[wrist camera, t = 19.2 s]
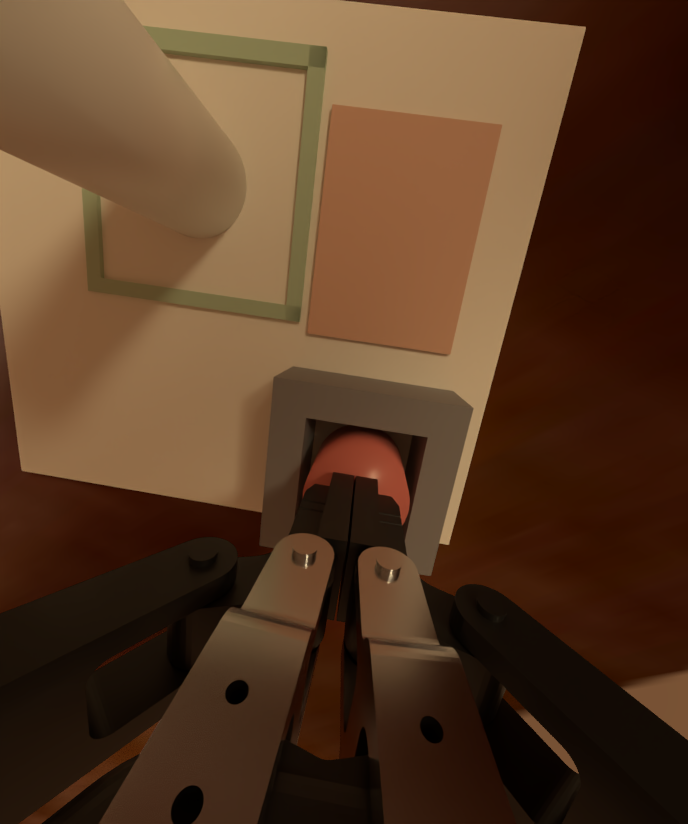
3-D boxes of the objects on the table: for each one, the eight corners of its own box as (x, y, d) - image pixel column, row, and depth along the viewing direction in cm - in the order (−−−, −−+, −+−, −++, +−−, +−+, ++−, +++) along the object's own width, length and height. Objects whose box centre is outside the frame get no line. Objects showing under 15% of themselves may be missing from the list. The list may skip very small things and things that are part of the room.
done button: (409, 431, 13) (419, 460, 11) (393, 509, 14) (398, 555, 12) (322, 417, 14) (309, 442, 11) (311, 495, 15) (297, 537, 12)
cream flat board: (568, 51, 12) (664, -81, 8) (444, 532, 17) (465, 592, 13) (-14, -14, 13) (-182, -161, 9) (40, 462, 18) (-50, 500, 14)
